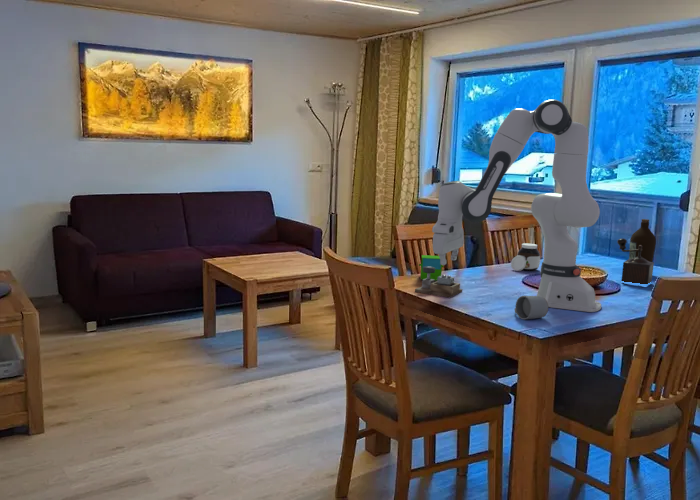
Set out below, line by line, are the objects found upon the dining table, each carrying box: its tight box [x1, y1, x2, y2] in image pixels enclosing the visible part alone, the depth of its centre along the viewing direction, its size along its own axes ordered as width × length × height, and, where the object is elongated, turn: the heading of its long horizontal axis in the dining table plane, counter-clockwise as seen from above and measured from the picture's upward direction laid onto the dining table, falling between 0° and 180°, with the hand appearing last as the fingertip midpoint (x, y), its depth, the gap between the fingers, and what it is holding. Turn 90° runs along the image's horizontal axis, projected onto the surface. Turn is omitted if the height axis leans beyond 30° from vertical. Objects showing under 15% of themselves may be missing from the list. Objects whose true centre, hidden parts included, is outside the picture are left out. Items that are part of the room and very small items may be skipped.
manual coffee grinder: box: [617, 238, 655, 284], centre depth 268 cm, size 16×11×18 cm
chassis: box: [414, 278, 463, 298], centre depth 239 cm, size 14×12×4 cm
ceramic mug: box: [514, 295, 549, 321], centre depth 209 cm, size 11×8×8 cm
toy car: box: [418, 254, 445, 282], centre depth 261 cm, size 10×13×10 cm
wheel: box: [423, 266, 435, 280], centre depth 241 cm, size 5×5×5 cm
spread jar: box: [510, 242, 541, 272], centre depth 288 cm, size 12×11×12 cm
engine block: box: [436, 274, 455, 286], centre depth 238 cm, size 5×4×6 cm
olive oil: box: [628, 218, 657, 262], centre depth 287 cm, size 11×11×25 cm
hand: (448, 262), depth 237 cm, fingers open, 8 cm apart
